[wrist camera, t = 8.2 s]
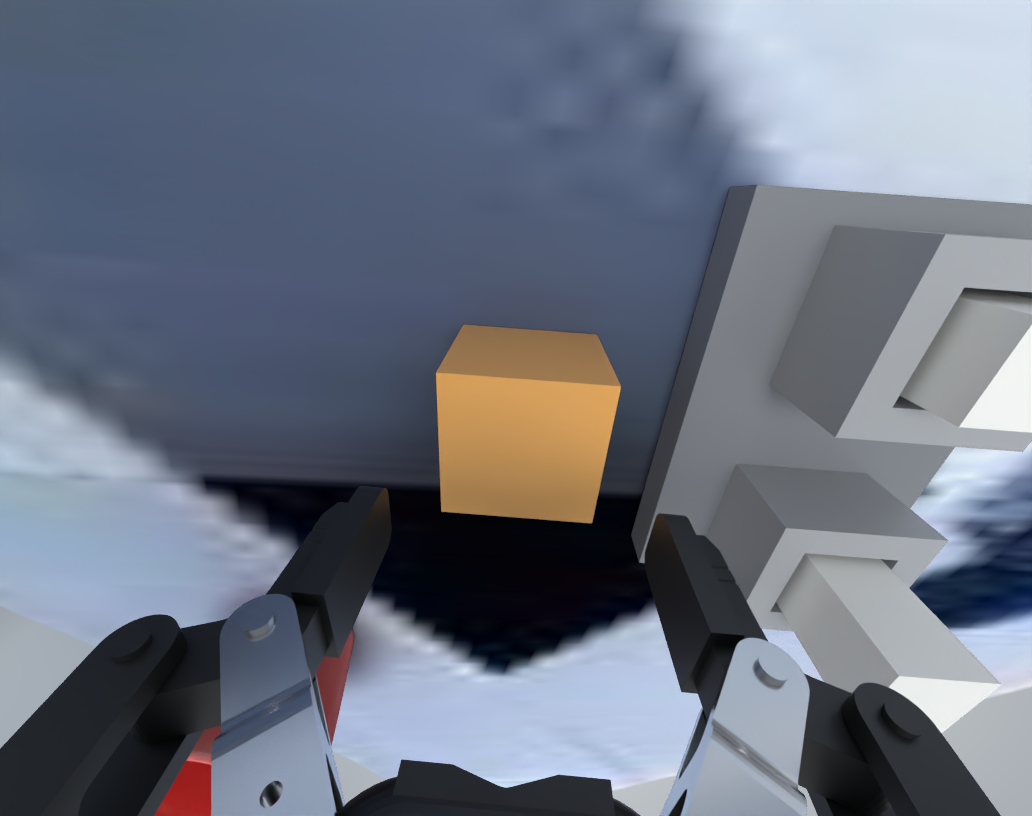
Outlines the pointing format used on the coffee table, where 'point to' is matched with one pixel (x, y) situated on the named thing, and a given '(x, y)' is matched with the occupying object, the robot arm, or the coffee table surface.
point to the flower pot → (191, 791)
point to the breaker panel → (823, 378)
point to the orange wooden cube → (524, 423)
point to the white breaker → (979, 364)
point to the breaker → (881, 636)
